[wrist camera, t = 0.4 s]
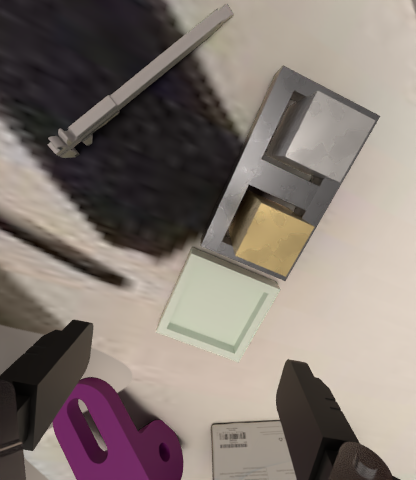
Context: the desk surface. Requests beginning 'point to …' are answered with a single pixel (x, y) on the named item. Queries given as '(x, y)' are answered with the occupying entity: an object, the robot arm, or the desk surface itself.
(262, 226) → the golden yellow block
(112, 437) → the mounting bracket
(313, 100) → the grey upright block
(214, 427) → the hard drive box
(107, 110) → the caliper
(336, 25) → the desk surface
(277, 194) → the grey metal frame
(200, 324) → the parts tray
